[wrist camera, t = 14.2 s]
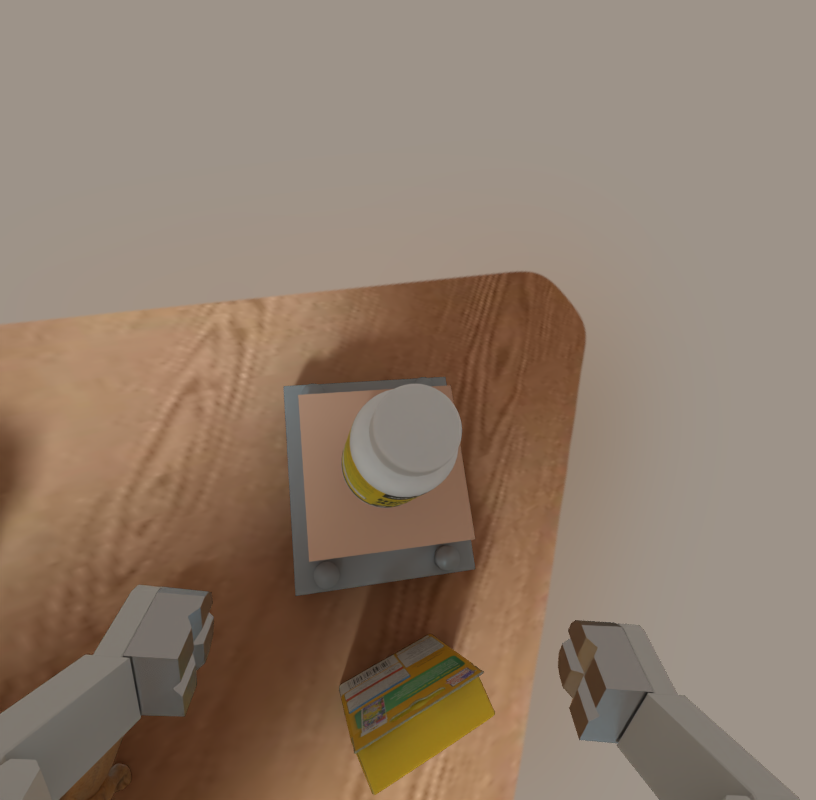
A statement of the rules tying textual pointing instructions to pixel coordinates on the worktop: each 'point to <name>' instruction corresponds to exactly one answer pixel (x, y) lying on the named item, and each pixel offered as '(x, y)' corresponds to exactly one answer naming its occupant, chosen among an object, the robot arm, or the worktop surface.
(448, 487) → the brick tower
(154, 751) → the worktop surface
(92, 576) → the worktop surface
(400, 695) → the crayon box
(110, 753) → the lion figurine
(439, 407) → the supplement bottle
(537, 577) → the worktop surface
